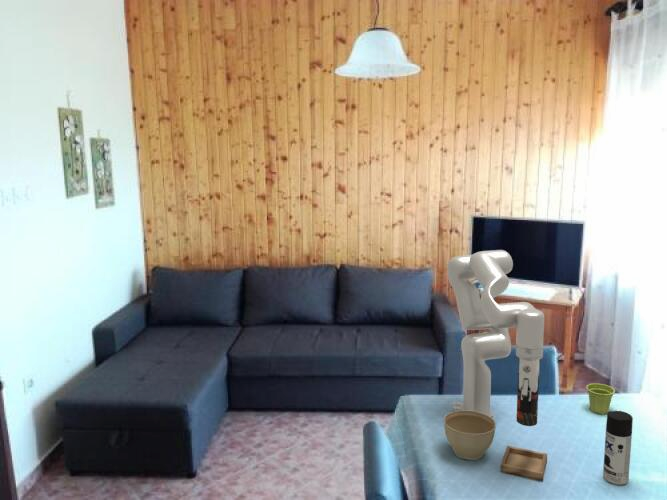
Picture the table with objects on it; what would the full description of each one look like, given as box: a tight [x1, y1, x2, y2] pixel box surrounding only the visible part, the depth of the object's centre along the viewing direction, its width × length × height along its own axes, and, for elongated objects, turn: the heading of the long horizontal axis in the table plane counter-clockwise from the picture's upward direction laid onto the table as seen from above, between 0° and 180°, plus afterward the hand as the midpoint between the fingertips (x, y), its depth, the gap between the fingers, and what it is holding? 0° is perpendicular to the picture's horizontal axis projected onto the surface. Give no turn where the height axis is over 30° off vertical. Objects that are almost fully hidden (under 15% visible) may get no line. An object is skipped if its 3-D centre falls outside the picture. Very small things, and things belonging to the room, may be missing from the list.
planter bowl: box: [443, 410, 497, 461], centre depth 174 cm, size 16×16×11 cm
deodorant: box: [515, 372, 540, 427], centre depth 162 cm, size 6×6×15 cm
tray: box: [500, 445, 548, 482], centre depth 166 cm, size 12×12×2 cm
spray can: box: [602, 410, 634, 486], centre depth 157 cm, size 7×7×20 cm
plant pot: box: [585, 383, 616, 415], centre depth 199 cm, size 9×9×9 cm
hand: (527, 407), depth 163 cm, fingers closed on deodorant, 5 cm apart
